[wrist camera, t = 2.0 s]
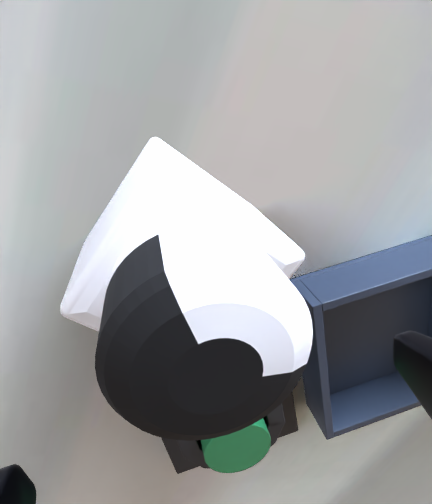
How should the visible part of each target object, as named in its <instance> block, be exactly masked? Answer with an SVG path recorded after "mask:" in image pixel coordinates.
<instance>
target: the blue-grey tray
mask: <svg viewBox="0 0 432 504" xmlns="http://www.w3.org/2000/svg"><path fill="white" fill-rule="evenodd" d="M289 280H290V282H291V283H292V284H293V285H294V286H295V287H296V288H297V290H298V291H299V293H300V294H301V295H302V297H303V298H304V300H305V302H306V304H307V307H308V309H309V312H310V316H311V319H312V328H313V338H312V346H311V351H310V355H309V358H308V361H307V364H306V367H305V369H304V372H303V374H302V376H303V383H304V390H305V397H306V404H307V406H308V407H309V409H310V411H311V413H312V414H313V416H314V418H315V420H316V421H317V423H318V425H319V427H320V429H321V430H322V432H323V434H324V436H325V437H326V439H327V440H328V439H331V438H333V437H336V436H339V435H341V434H344V433H347V432H350V431H352V430H355V429H358V428H360V427H363V426H366V425H369V424H371V423H374V422H377V421H380V420H382V419H385V418H388V417H391V416H393V415H396V414H399V413H401V412H404V411H407V410H410V409H412V408H415V407H418V406H421V403H420V402H419V400H418V399H417V398H416V396H415V395H414V393H413V392H412V390H411V389H410V388H409V386H408V385H407V383H406V382H405V380H404V379H403V378H402V376H401V375H400V373H399V372H398V370H397V369H396V367H395V365H394V361H393V346H394V337H395V335H397V334H400V333H403V332H406V331H415V332H418V333H421V334H423V335H426V336H429V337H432V235H431V236H428V237H425V238H421V239H418V240H415V241H412V242H408V243H405V244H402V245H399V246H396V247H392V248H389V249H386V250H383V251H380V252H376V253H373V254H370V255H367V256H363V257H360V258H357V259H354V260H351V261H347V262H344V263H341V264H338V265H334V266H331V267H328V268H325V269H322V270H318V271H315V272H312V273H309V274H305V275H302V276H299V277H296V278H293V279H289Z"/></svg>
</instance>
